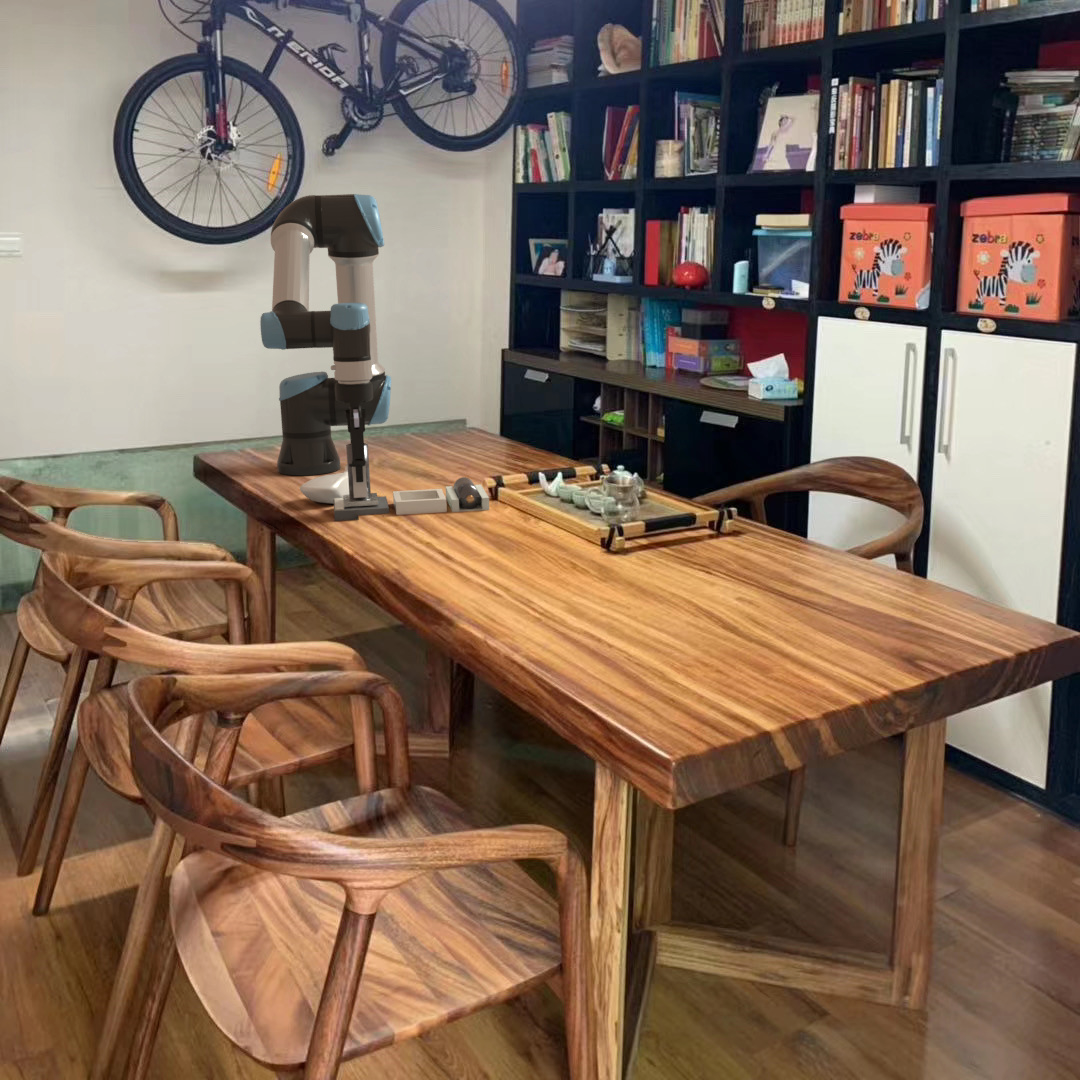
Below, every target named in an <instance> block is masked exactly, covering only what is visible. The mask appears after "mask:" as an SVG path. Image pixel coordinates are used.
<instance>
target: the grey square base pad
mask: <svg viewBox="0 0 1080 1080" xmlns="http://www.w3.org/2000/svg"><path fill="white" fill-rule="evenodd" d="M377 497H378V505H370V506H352V507H344V503H343V498H334V504H333V515H334V521H335V522H336V521H337V522H338V521H339V522H340V521H352V520H353V521H354V520H360V517H359V516H370V515H371V516H372V515H387V514H390V508H389V504H388V503H389V502H388V498H387V496H385V495H383V496H377Z"/></svg>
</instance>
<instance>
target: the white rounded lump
mask: <svg viewBox="0 0 1080 1080" xmlns="http://www.w3.org/2000/svg"><path fill="white" fill-rule="evenodd" d="M344 468H345V469H344V471H343V472H340V473H334V474H326V475H322V476H318V477H313V478H312V479H309V480H308V481H306V482H305V483H303V484H301V486H300V487H299V490H300V492H301V493H302V495H303V496H305V498H307V499H308V500H310V501H311V502H315V503H321V504H333V505H334V498H343V495H348V494H349V483H348V466H347V464H345V467H344Z"/></svg>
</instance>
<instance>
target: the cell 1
mask: <svg viewBox="0 0 1080 1080" xmlns="http://www.w3.org/2000/svg"><path fill="white" fill-rule="evenodd" d="M345 450H346V465H347V466H348V483H349V498H350V499H352V500H364V499H369V498H371V493H372V491H371V474H370V473H371V472H370V457H369V455H370V454H369V444H368V443H365V442H364V453H365V460H366V463H365V466H366V483H367V497H360V498H354V491H353V475H352V467H349V464H352V445H351V443H347V444H346V449H345Z"/></svg>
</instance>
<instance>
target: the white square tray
mask: <svg viewBox="0 0 1080 1080" xmlns="http://www.w3.org/2000/svg"><path fill="white" fill-rule="evenodd" d="M392 496H393V497H392V498H393V507H394V511H395V514H396V516H403V515H419V514H420V515H421V514H434V513H435V514H436V513H447V512H448V511H447V510H448V509H447V507H448V505H447V504H448V503H447V499H446V494H444V491H443V488H429V489H415V490H414V489H412V490H411V489H410V490H396V491H392Z"/></svg>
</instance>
